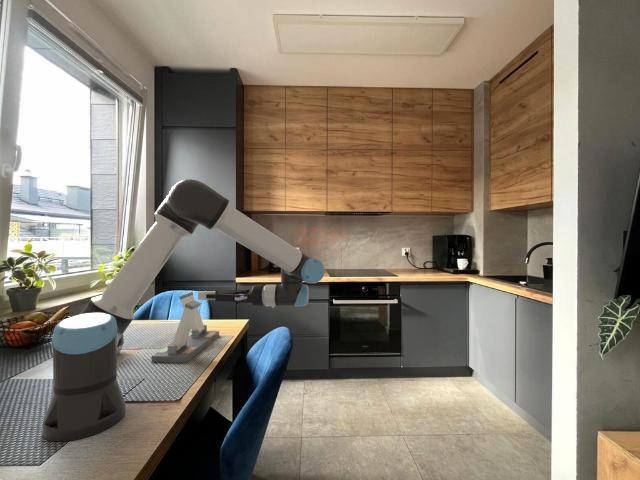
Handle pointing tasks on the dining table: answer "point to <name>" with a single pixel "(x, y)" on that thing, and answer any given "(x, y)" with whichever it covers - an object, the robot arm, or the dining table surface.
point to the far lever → (197, 321)
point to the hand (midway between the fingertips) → (198, 295)
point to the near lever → (185, 324)
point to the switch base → (186, 347)
